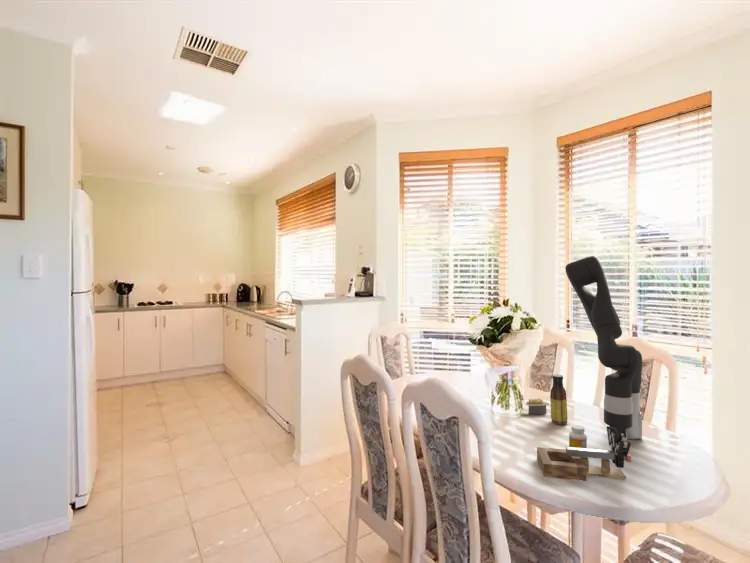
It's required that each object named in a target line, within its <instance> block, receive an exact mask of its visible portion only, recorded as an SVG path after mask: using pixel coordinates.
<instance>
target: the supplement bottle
mask: <svg viewBox="0 0 750 563" xmlns="http://www.w3.org/2000/svg"><path fill="white" fill-rule="evenodd" d="M570 430H571V431H569V433H568V440H569V441H568V443H569V444H568V447H576V448H588V447H587V445H588V442H587V440H588V436H587V434H586V433H585V431H586V430H585V426H583V425H579V424H572V425H571V428H570Z"/></svg>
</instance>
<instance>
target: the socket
mask: <svg viewBox="0 0 750 563" xmlns="http://www.w3.org/2000/svg"><path fill="white" fill-rule="evenodd" d="M536 460H537V462H538V465H539V468H540V471H541V474H542V476H543V477H544V478H554V479H562V480H563V479H564V480H574V481H581V480H582V481H583V482H587V476H586V466H585V465H584V463H583V461H582V460H581V458H580V457H577V456H567V454H566V448H565V449H564V448H563V449H562V448H553V447H552V448H551V447H541V446H537V447H536Z"/></svg>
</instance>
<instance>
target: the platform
mask: <svg viewBox="0 0 750 563" xmlns="http://www.w3.org/2000/svg"><path fill="white" fill-rule="evenodd" d="M525 405H526V406H527V407H528V415H541V414H540V413H546V414H547V406H550V403H549V402H546V401H544V400H543V399H542V398H529V399H528V401H526V402H525Z"/></svg>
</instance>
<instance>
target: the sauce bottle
mask: <svg viewBox="0 0 750 563" xmlns="http://www.w3.org/2000/svg"><path fill="white" fill-rule="evenodd" d="M551 379H552V387H551V389H550V396H549V397H550V419H551V423H553V424H555V425H558V426H564V425H567V424H568V402H567V401H568V399H567V391H566V389H565V387H564V383H563V380H564V376H563V375H562V374H558V373H557V374H555V373H553V375H551Z"/></svg>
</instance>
